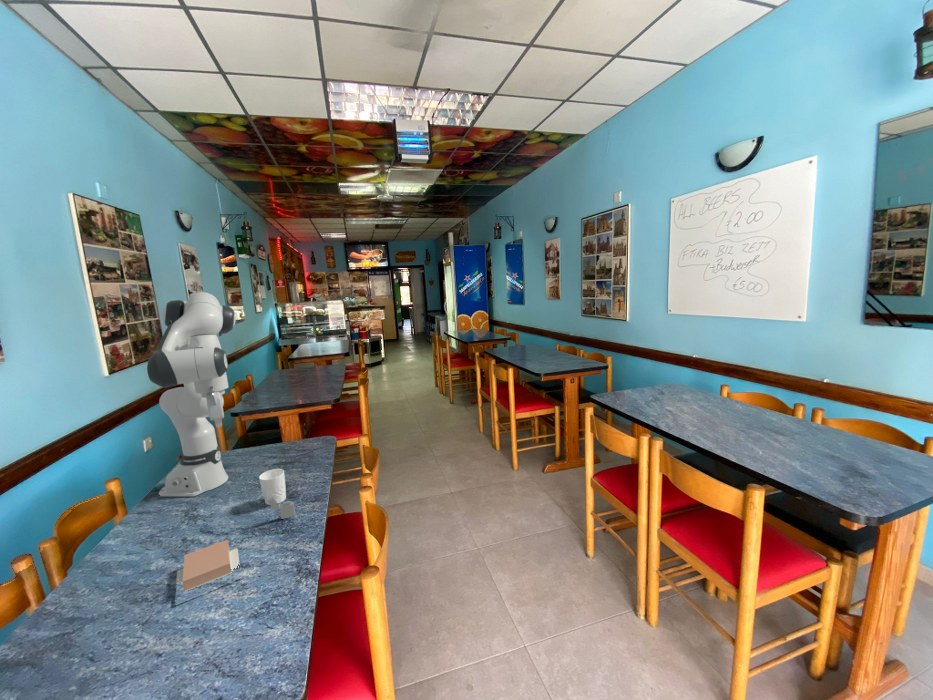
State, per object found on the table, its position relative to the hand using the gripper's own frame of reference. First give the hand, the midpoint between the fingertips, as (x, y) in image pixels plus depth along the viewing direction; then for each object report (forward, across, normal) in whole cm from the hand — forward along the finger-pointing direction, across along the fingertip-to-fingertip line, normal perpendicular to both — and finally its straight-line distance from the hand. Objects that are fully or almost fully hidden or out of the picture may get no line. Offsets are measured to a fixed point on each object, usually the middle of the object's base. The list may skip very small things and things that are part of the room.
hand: (219, 426), depth 123 cm
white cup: (+31, 0, -12) cm, 34 cm away
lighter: (+31, -14, -13) cm, 37 cm away
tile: (+29, -21, +8) cm, 37 cm away
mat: (+31, -29, +8) cm, 43 cm away
